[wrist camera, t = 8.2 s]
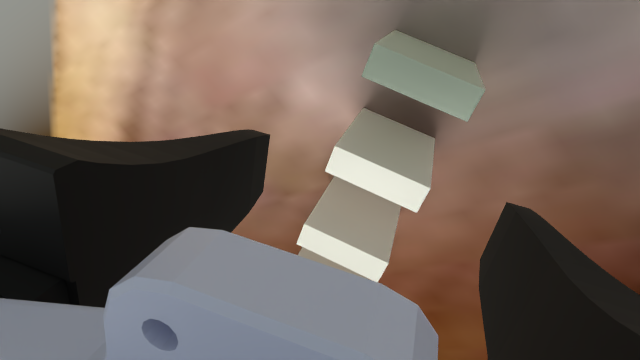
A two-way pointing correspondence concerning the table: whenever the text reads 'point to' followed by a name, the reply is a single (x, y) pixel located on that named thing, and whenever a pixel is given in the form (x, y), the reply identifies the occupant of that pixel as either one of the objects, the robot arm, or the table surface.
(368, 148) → the domino
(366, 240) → the domino
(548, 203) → the table surface
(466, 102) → the green flat block
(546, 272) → the robot arm
